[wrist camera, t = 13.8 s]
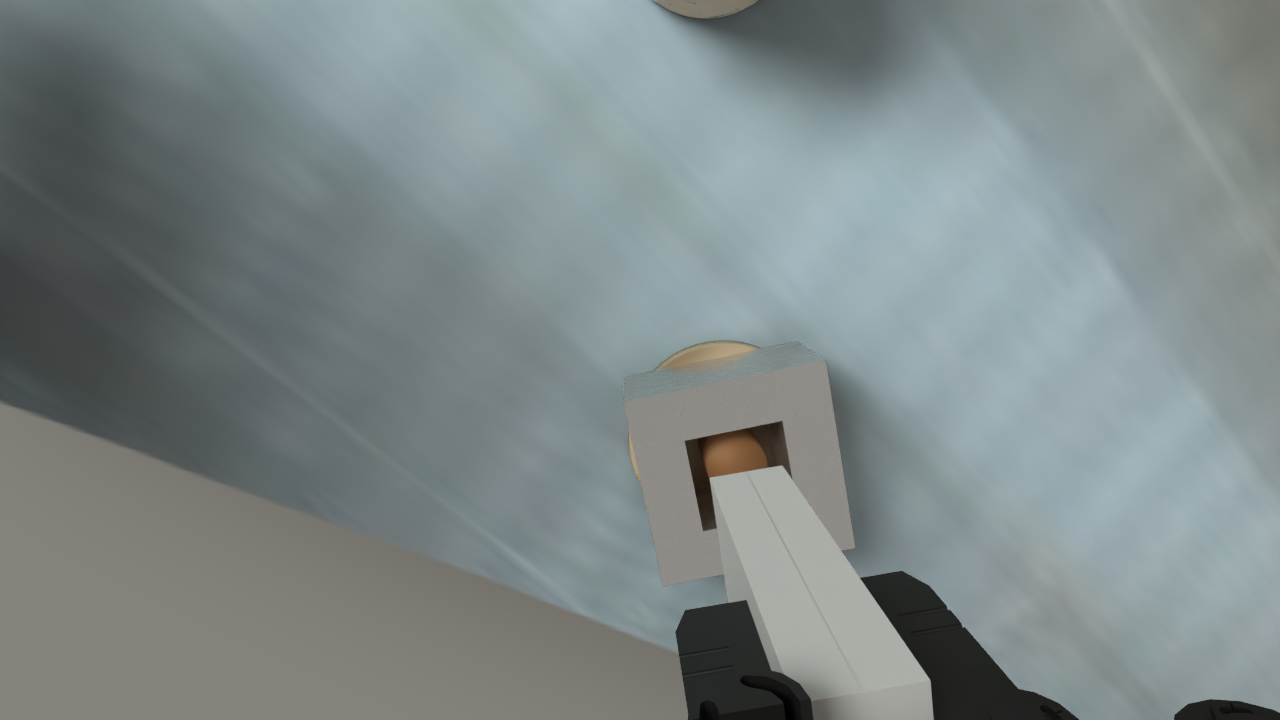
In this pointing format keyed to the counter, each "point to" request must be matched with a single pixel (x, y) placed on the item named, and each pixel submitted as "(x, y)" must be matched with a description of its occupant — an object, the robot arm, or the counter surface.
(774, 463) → the white boxy piece
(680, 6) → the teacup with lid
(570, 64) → the counter surface
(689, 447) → the hub
